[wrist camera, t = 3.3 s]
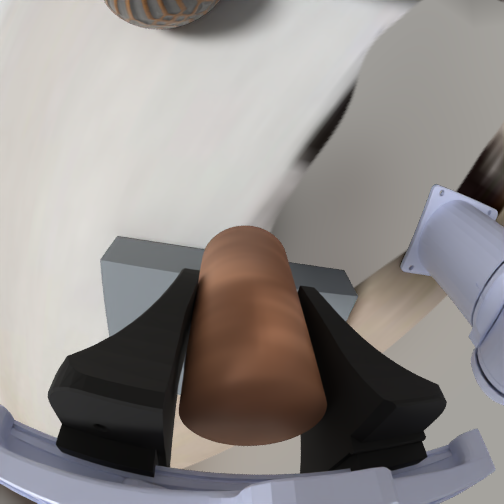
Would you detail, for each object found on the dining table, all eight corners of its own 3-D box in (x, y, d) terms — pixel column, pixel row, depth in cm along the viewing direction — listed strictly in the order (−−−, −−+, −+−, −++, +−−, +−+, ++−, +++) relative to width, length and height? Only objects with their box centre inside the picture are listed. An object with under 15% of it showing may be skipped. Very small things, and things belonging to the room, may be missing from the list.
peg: (296, 234, 14) (351, 378, 7) (275, 303, 15) (299, 446, 8) (208, 218, 13) (182, 365, 6) (197, 292, 15) (177, 439, 8)
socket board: (344, 270, 24) (358, 296, 21) (295, 377, 30) (300, 403, 27) (117, 236, 21) (100, 259, 18) (126, 357, 28) (118, 383, 25)
